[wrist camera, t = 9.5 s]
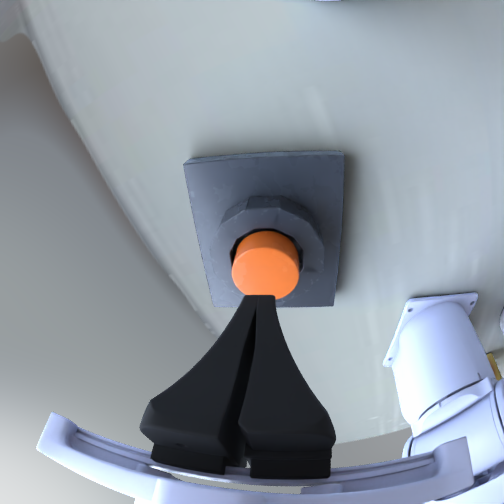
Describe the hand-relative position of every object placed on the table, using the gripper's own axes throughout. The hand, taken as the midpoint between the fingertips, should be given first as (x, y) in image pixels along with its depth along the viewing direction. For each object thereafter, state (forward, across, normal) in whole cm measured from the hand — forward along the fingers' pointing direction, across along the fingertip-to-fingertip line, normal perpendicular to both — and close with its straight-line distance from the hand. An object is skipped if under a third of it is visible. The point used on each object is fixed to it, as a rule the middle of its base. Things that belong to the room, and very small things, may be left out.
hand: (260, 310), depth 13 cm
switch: (+4, 0, 0) cm, 4 cm away
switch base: (+7, 0, 0) cm, 7 cm away
